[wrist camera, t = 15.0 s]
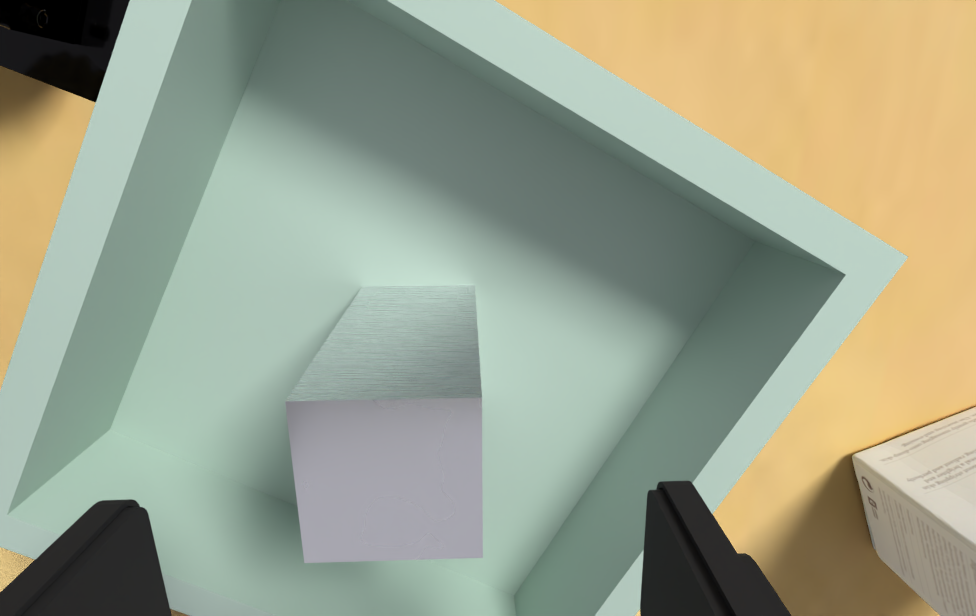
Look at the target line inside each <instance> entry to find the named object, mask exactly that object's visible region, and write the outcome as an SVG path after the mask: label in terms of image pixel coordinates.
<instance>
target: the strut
mask: <svg viewBox="0 0 976 616" xmlns="http://www.w3.org/2000/svg"><path fill="white" fill-rule="evenodd" d="M285 406H286V414H287V423H288V431H289V439H290V448H291V456H292V464H293V473H294V481H295V489H296V498H297V506H298V514H299V523H300V531H301V539H302V548H303V556H304V563H325V562H360V561H394V560H429V559H463V558H483V487H482V389H481V373H480V358H479V342H478V326H477V310H476V295H475V285H442V286H362V288H361V289H360V291H359V292H358V294H357V295H356V297H355V298H354V300H353V301H352V303H351V304H350V306H349V307H348V309H347V310H346V312H345V313H344V315H343V316H342V318H341V319H340V320H339V322H338V323H337V325H336V326H335V328H334V329H333V331H332V332H331V334H330V335H329V337H328V338H327V340H326V341H325V343H324V344H323V346H322V347H321V349H320V350H319V352H318V353H317V355H316V356H315V358H314V359H313V360H312V362H311V363H310V365H309V366H308V368H307V369H306V371H305V372H304V374H303V375H302V377H301V378H300V380H299V381H298V383H297V384H296V386H295V387H294V389H293V390H292V392H291V393H290V395H289V396H288V398H287V399H286V400H285Z"/></svg>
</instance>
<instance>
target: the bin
mask: <svg viewBox="0 0 976 616" xmlns="http://www.w3.org/2000/svg"><path fill="white" fill-rule="evenodd" d="M907 258H908V257H907V256H906V255H904V254H903V253H901V252H899V251H898V250H896V249H895V248H893V247H891V246H890V245H888V244H886V243H885V242H883V241H882V240H880V239H878V238H877V237H875V236H874V235H872V234H870V233H869V232H867V231H866V230H864V229H862V228H861V227H859V226H857V225H856V224H854V223H853V222H851V221H849V220H848V219H846V218H845V217H843V216H841V215H840V214H838V213H837V212H835V211H833V210H832V209H830V208H828V207H827V206H825V205H824V204H822V203H820V202H819V201H817V200H816V199H814V198H812V197H811V196H809V195H807V194H806V193H804V192H803V191H801V190H799V189H798V188H796V187H795V186H793V185H791V184H790V183H788V182H787V181H785V180H783V179H782V178H780V177H778V176H777V175H775V174H774V173H772V172H770V171H769V170H767V169H766V168H764V167H762V166H761V165H759V164H757V163H756V162H754V161H753V160H751V159H749V158H748V157H746V156H745V155H743V154H741V153H740V152H738V151H737V150H735V149H733V148H732V147H730V146H728V145H727V144H725V143H724V142H722V141H720V140H719V139H717V138H716V137H714V136H712V135H711V134H709V133H707V132H706V131H704V130H703V129H701V128H699V127H698V126H696V125H695V124H693V123H691V122H690V121H688V120H687V119H685V118H683V117H682V116H680V115H678V114H677V113H675V112H674V111H672V110H670V109H669V108H667V107H666V106H664V105H662V104H661V103H659V102H657V101H656V100H654V99H653V98H651V97H649V96H648V95H646V94H645V93H643V92H641V91H640V90H638V89H637V88H635V87H633V86H632V85H630V84H628V83H627V82H625V81H624V80H622V79H620V78H619V77H617V76H616V75H614V74H612V73H611V72H609V71H607V70H606V69H604V68H603V67H601V66H599V65H598V64H596V63H595V62H593V61H591V60H590V59H588V58H587V57H585V56H583V55H582V54H580V53H578V52H577V51H575V50H574V49H572V48H570V47H569V46H567V45H566V44H564V43H562V42H561V41H559V40H557V39H556V38H554V37H553V36H551V35H549V34H548V33H546V32H545V31H543V30H541V29H540V28H538V27H537V26H535V25H533V24H532V23H530V22H528V21H527V20H525V19H524V18H522V17H520V16H519V15H517V14H516V13H514V12H512V11H511V10H509V9H507V8H506V7H504V6H503V5H501V4H499V3H498V2H496V1H495V0H130V1H129V4H128V7H127V10H126V13H125V16H124V19H123V22H122V25H121V28H120V31H119V34H118V37H117V40H116V43H115V47H114V50H113V53H112V56H111V59H110V62H109V65H108V68H107V71H106V74H105V77H104V80H103V83H102V86H101V89H100V92H99V95H98V98H97V101H96V104H95V107H94V110H93V113H92V116H91V119H90V122H89V125H88V128H87V131H86V134H85V137H84V140H83V143H82V146H81V149H80V152H79V155H78V158H77V161H76V164H75V167H74V170H73V173H72V176H71V179H70V182H69V185H68V188H67V191H66V194H65V197H64V200H63V203H62V206H61V209H60V212H59V215H58V218H57V221H56V224H55V228H54V231H53V234H52V237H51V240H50V243H49V246H48V249H47V252H46V255H45V258H44V261H43V264H42V267H41V270H40V273H39V276H38V279H37V282H36V285H35V288H34V291H33V294H32V297H31V300H30V303H29V306H28V309H27V312H26V315H25V318H24V321H23V324H22V327H21V330H20V333H19V336H18V339H17V342H16V345H15V348H14V351H13V354H12V357H11V360H10V363H9V366H8V369H7V372H6V375H5V378H4V381H3V384H2V387H1V390H0V547H2V548H5V549H7V550H10V551H13V552H16V553H18V554H21V555H24V556H27V557H29V558H32V559H37V558H38V557H39V556H40V555H41V554H42V553H43V552H44V551H45V550H46V549H47V548H48V547H49V546H50V545H51V544H52V543H53V542H55V541H56V540H57V539H58V538H59V537H60V536H61V535H62V534H63V533H64V532H65V531H66V530H67V529H68V528H69V527H70V526H71V525H73V524H74V523H75V522H76V521H77V520H78V519H79V518H80V517H81V516H82V515H83V514H84V513H85V512H86V511H87V510H88V509H89V508H91V507H92V506H93V505H94V504H95V503H97V502H98V501H102V500H127V499H132V500H135V501H137V503H138V504H139V506H140V507H143V508H145V509H146V510H147V512H148V515H149V519H150V523H151V528H152V532H153V536H154V541H155V545H156V550H157V554H158V558H159V563H160V567H161V572H162V576H163V580H164V585H165V589H166V593H167V598H168V602H169V607H170V609H173V610H175V611H178V612H181V613H184V614H186V615H189V616H635V615H636V614H637V612H638V611H639V610H640V600H641V584H642V568H643V553H644V537H645V521H646V506H647V494H648V491H649V490H656V488H657V485H658V483H659V482H660V481H691V482H692V484H693V485H694V486H695V488H696V490H697V491H698V493H699V494H700V496H701V497H702V499H703V501H704V502H705V504H706V505H707V507H708V508H709V510H710V511H711V513H712V514H713V512H714V511H715V510H716V509H717V507H718V506H719V505H720V503H721V502H722V501H723V499H724V498H725V497H726V495H727V494H728V493H729V491H730V490H731V489H732V488H733V486H734V485H735V484H736V482H737V481H738V480H739V478H740V477H741V476H742V474H743V473H744V472H745V470H746V469H747V468H748V467H749V465H750V464H751V463H752V461H753V460H754V459H755V457H756V456H757V455H758V453H759V452H760V451H761V449H762V448H763V447H764V446H765V444H766V443H767V442H768V440H769V439H770V438H771V436H772V435H773V434H774V432H775V431H776V430H777V428H778V427H779V426H780V425H781V423H782V422H783V421H784V419H785V418H786V417H787V415H788V414H789V413H790V411H791V410H792V409H793V407H794V406H795V405H796V404H797V402H798V401H799V400H800V398H801V397H802V396H803V394H804V393H805V392H806V390H807V389H808V388H809V386H810V385H811V384H812V383H813V381H814V380H815V379H816V377H817V376H818V375H819V373H820V372H821V371H822V369H823V368H824V367H825V365H826V364H827V363H828V362H829V360H830V359H831V358H832V356H833V355H834V354H835V352H836V351H837V350H838V348H839V347H840V346H841V344H842V343H843V342H844V341H845V339H846V338H847V337H848V335H849V334H850V333H851V331H852V330H853V329H854V327H855V326H856V325H857V323H858V322H859V321H860V320H861V318H862V317H863V316H864V314H865V313H866V312H867V310H868V309H869V308H870V306H871V305H872V304H873V302H874V301H875V300H876V299H877V297H878V296H879V295H880V293H881V292H882V291H883V289H884V288H885V287H886V285H887V284H888V283H889V281H890V280H891V279H892V278H893V276H894V275H895V274H896V272H897V271H898V270H899V268H900V267H901V266H902V264H903V263H904V262H905V260H906V259H907ZM442 285H475V295H476V310H477V326H478V342H479V358H480V373H481V389H482V487H483V558H463V559H429V560H394V561H360V562H325V563H304V556H303V548H302V539H301V531H300V523H299V514H298V506H297V498H296V489H295V481H294V473H293V464H292V456H291V448H290V439H289V431H288V423H287V414H286V406H285V400H286V399H287V398H288V396H289V395H290V393H291V392H292V390H293V389H294V387H295V386H296V384H297V383H298V381H299V380H300V378H301V377H302V375H303V374H304V372H305V371H306V369H307V368H308V366H309V365H310V363H311V362H312V360H313V359H314V358H315V356H316V355H317V353H318V352H319V350H320V349H321V347H322V346H323V344H324V343H325V341H326V340H327V338H328V337H329V335H330V334H331V332H332V331H333V329H334V328H335V326H336V325H337V323H338V322H339V320H340V319H341V318H342V316H343V315H344V313H345V312H346V310H347V309H348V307H349V306H350V304H351V303H352V301H353V300H354V298H355V297H356V295H357V294H358V292H359V291H360V289H361V288H362V286H442Z"/></svg>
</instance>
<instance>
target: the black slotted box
mask: <svg viewBox="0 0 976 616" xmlns="http://www.w3.org/2000/svg"><path fill="white" fill-rule="evenodd" d="M129 1H130V0H0V66H3V67H6V68H8V69H11V70H13V71H16V72H18V73H21V74H24V75H26V76H29V77H31V78H34V79H37V80H39V81H42V82H44V83H47V84H50V85H52V86H55V87H57V88H60V89H63V90H65V91H68V92H70V93H73V94H76V95H78V96H81V97H83V98H86V99H88V100H91V101H94V102H96V101H97V98H98V95H99V92H100V89H101V86H102V83H103V80H104V77H105V74H106V71H107V68H108V65H109V62H110V59H111V56H112V53H113V50H114V47H115V43H116V40H117V37H118V34H119V31H120V28H121V25H122V22H123V19H124V16H125V13H126V10H127V7H128V4H129Z"/></svg>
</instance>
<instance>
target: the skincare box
mask: <svg viewBox="0 0 976 616" xmlns="http://www.w3.org/2000/svg"><path fill="white" fill-rule="evenodd" d="M852 460H853V465H854V469H855V473H856V477H857V480H858V483H859V487H860V492H861V496H862V501H863V505H864V510H865V516H866V519H867V523H868V527H869V531H870V535H871V539H872V544H873V547H874V549H875V550H876V551H877V554H878V556H879V558H880V559H881V560H882V561H883V562H884V563H885V564H886V565H887V566H888V567H889V568H890V569H891V570H892V571H894V572H895V573H896V574H897V575H898V576H899V577H900V578H901V579H902V580H903V581H904V582H905V583H906V584H907V585H908V586H909V587H911V588H912V589H913V590H914V591H915V592H916V593H917V594H918V595H919V596H920V597H921V598H922V599H923V600H924V601H925V602H926V603H928V604H929V605H930V606H931V607H932V608H933V609H934V610H935V611H936V612H937V613H938V614H939V615H940V616H976V407H974V408H971V409H969V410H966V411H964V412H961V413H958V414H956V415H953V416H951V417H948V418H946V419H943V420H941V421H938V422H935V423H933V424H930V425H928V426H925V427H923V428H920V429H918V430H915V431H913V432H910V433H907V434H905V435H902V436H900V437H897V438H895V439H892V440H890V441H887V442H885V443H882V444H880V445H877V446H875V447H872V448H869V449H866V450H864V451H861V452H858V453H855V454H854V455H853V456H852Z"/></svg>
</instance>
